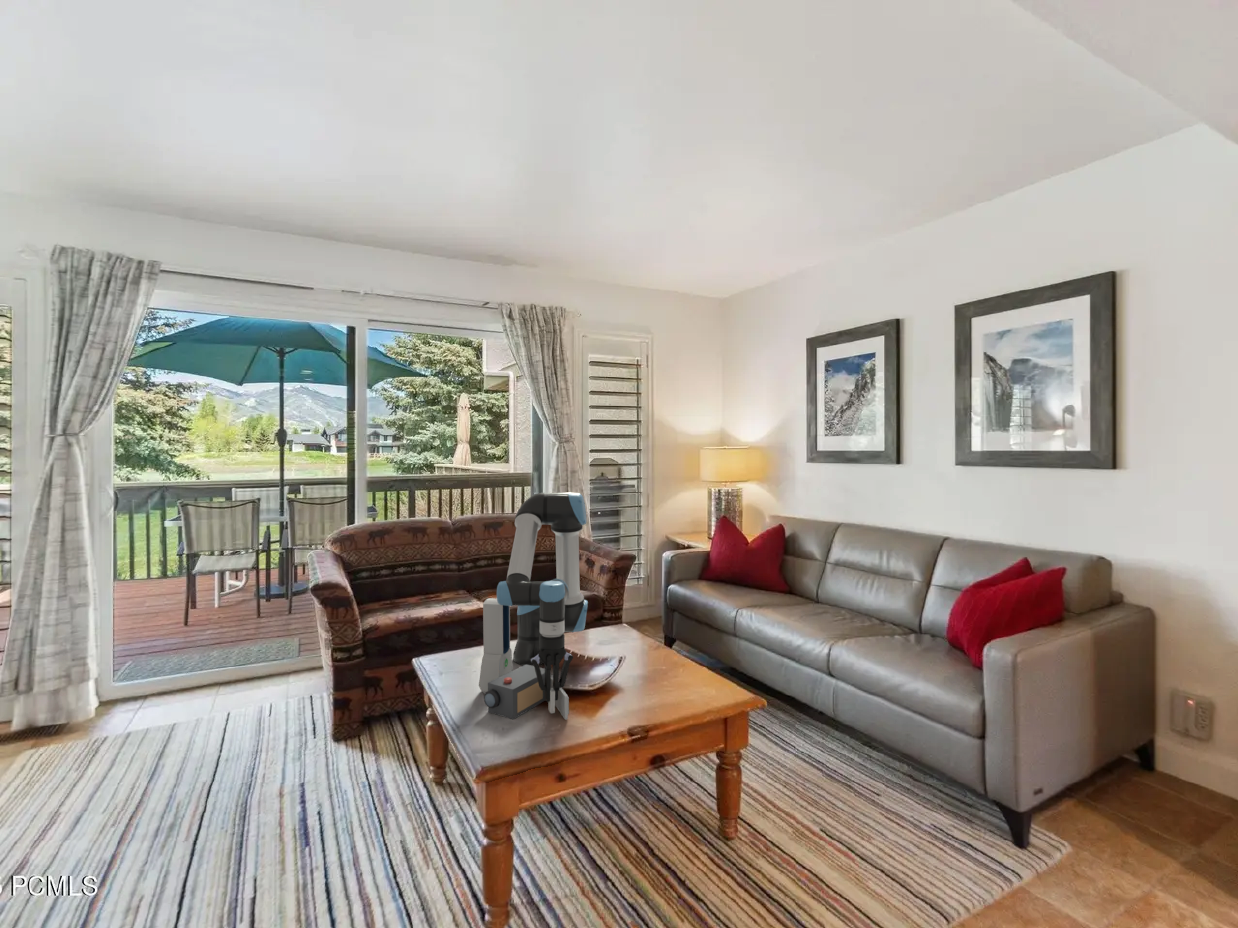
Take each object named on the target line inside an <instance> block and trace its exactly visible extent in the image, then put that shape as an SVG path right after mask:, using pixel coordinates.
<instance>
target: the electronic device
mask: <svg viewBox="0 0 1238 928" xmlns="http://www.w3.org/2000/svg"><path fill="white" fill-rule="evenodd" d="M510 608H511V606H505V605H500V604H499V603H498V601H497V598H493V597H491V598H486V599H485V600H484V602H483V603H482V610H483V612H482V614H483V615H482V618H483V619H482V620H483V621H482V624H483V625H482V627H483V629H482V631H483V632H482V633H483V637H482V638H483V654H482V658H481V664H480V672H479V681H478V687H479V689H480V690H481V692H482V694H485V693H486V692H487V691H488V682H490V681H492V680H495V679H497V678H499V677H501V676H503V675H505V674H507V673H509V672H511V671H513V651H512V648H511V616H510V615H511V611H510V610H511V609H510Z"/></svg>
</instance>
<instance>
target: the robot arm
mask: <svg viewBox="0 0 1238 928" xmlns="http://www.w3.org/2000/svg"><path fill="white" fill-rule="evenodd" d="M542 525H550V530H551V532H552V533H554V534H555V560H556V561H555V567H556V570H555V571H556V578H553V579H551V580H546V581H531V577H532V571H533V570H532V569H533V564H534V557H535V551H536V544H537V539H538V532H539V530H541V528H542ZM584 525H587V511H586V503H585V499H584V496H583V495H582V494H581V493H579V492H570V491H569V492H539V493H538V492H537V493H535V494H533V495H532V496H530V497H529V498H527V499H526V500H525V501H524V502H523V503H522V504H521V505H520V507H519V508H518V510H517V512H516V514H515V518H514V527H515V533H514V539H513V543H512V549H511V554H510V560H509V565H508V568H507V575H506V580H503V581H499V582H498V584H497V586H496V599H497V601H498V603H499V604H500V605H505V606H510V607H513V606H514V607H515V606H516V607H517V612H516V615H517V641H516V643H515V647H514V651H513V652H512V661H513V662H514V663H516V664H518V665H521V666H524V665H526V664H527V665H531V666H534V668H535V672H536V676H537V680H538V684H539V687H540V689H541V690H545V699H546V700H545V701H546V702H547V703H548V704H547V705H548V712H549V713H550V714H555V713H556V706H555V701H556V700H558V691H559V689H560V688H562V689H563V688H565V685H566V681H567V677H568V673H569V669H570V664H571V662H572V661H573V659H574V656H573V655H572V654H571V652H570V653H569V652H567V650H566V648H565V645H566V643H565V635H566V634H565V633H575V632H577V633H579V632H582V631H584V629H585V628H586V627H585V626H586V620H587V612H588V604H589V602H588V600H587V599H585V596H584V594H583V593H582V592H581V589H580V586H581V585H580V584H581V583H580V582H581V581H580V580H581V579H580V578H581V577H580V537H579V536H580V535H579V533H580V532H581V531H582V530H583V526H584ZM563 659H564V660H563ZM562 660H563V663H562V668H561V672H560V663H561V661H562ZM541 663H544V669H545V685H544V683H543V679H542V675H541V671H540V668H541V667H540V665H542V664H541ZM538 664H540V665H538ZM551 669H552V671H551ZM551 672H552V674H551ZM559 673H560V674H559ZM551 675H553V688H551Z"/></svg>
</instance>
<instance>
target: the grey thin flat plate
mask: <svg viewBox="0 0 1238 928" xmlns="http://www.w3.org/2000/svg"><path fill="white" fill-rule="evenodd" d="M551 688H553V674H551ZM569 699H570V698H569V696H568V694H567V693H566V691H565V690H564V689H563V688H560V689H559V691H558V700H556V701H555V708H556V709H557V710H558V712H559V713H560V715H561V716H562V718H563V719H564V720H568V719H569V714H570V702H569Z"/></svg>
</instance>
